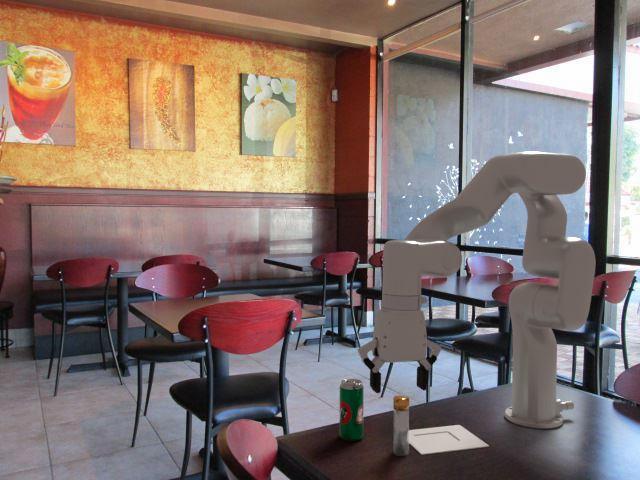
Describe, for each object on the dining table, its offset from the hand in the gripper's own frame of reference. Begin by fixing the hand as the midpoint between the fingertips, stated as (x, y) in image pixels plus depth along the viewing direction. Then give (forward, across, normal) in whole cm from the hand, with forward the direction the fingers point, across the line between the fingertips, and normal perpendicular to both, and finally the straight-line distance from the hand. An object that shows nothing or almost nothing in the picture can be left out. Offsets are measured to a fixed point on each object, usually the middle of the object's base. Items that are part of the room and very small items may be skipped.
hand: (398, 389), depth 110 cm
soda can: (+13, +6, -10) cm, 18 cm away
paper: (+12, -12, -4) cm, 18 cm away
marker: (+13, -1, 0) cm, 13 cm away
